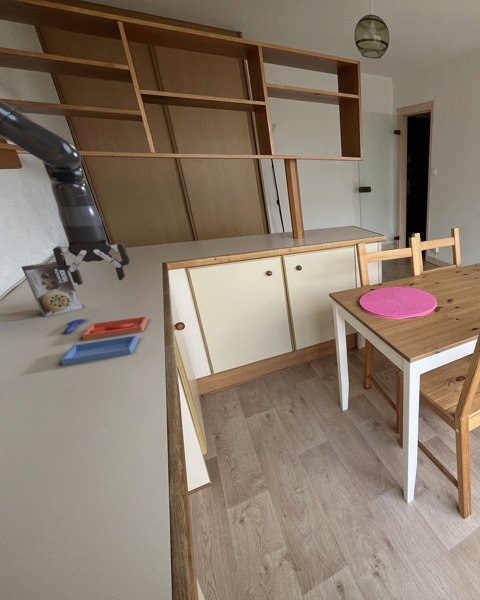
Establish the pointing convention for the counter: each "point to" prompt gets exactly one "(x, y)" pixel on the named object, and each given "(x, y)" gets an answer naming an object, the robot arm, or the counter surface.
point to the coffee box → (52, 288)
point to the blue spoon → (73, 325)
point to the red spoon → (112, 328)
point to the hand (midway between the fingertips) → (101, 281)
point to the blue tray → (100, 350)
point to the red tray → (138, 327)
